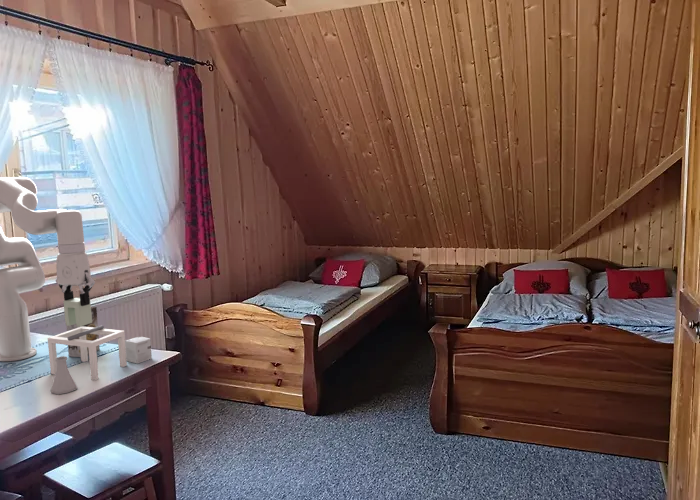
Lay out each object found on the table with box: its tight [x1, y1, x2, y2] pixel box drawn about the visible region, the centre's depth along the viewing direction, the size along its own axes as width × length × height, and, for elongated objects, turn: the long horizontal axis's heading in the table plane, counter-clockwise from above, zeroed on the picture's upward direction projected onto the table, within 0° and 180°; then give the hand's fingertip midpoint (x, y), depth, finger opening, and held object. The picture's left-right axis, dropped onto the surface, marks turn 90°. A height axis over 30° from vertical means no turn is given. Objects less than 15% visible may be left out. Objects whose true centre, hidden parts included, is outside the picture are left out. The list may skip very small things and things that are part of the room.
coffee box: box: [65, 306, 101, 358], centre depth 200 cm, size 9×6×16 cm
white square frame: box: [47, 324, 128, 381], centre depth 183 cm, size 18×14×13 cm
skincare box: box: [125, 336, 153, 364], centre depth 193 cm, size 6×6×7 cm
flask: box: [50, 355, 78, 395], centre depth 167 cm, size 7×7×10 cm
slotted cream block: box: [62, 297, 92, 327], centre depth 181 cm, size 6×5×8 cm
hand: (77, 304), depth 181 cm, fingers closed on slotted cream block, 5 cm apart
